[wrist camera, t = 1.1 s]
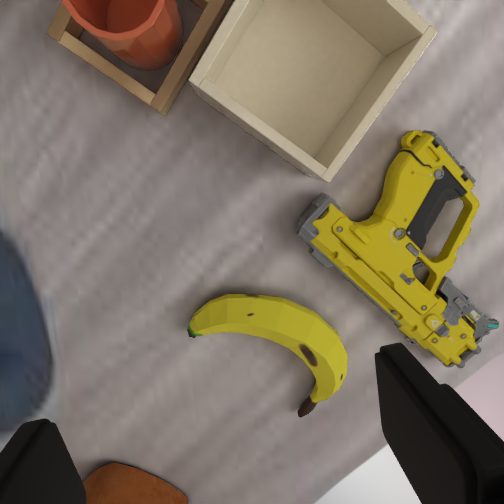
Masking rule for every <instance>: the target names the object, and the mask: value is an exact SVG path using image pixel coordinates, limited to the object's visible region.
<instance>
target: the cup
mask: <svg viewBox="0 0 504 504" xmlns="http://www.w3.org/2000/svg"><path fill="white" fill-rule="evenodd" d="M61 1H62V3H63V4H64V6H65V7H66V8H67V10H68V11H69V13H70V14H71V16H72V17H73V18H74V20H75V21H76V22H77V23H78V24H79V25H80V26H81V27H83V28H84V29H85V30H86V31H87V32H88V33H90V34H91V35H92V36H93V37H94V38H96V39H97V40H98V41H99V42H100V43H101V44H103V45H104V46H105V47H106V48H107V49H108V50H110V51H111V52H112V53H113V54H114V55H115V56H117V57H118V58H119V59H121V60H122V61H123V62H125V63H126V64H128V65H130V66H132V67H134V68H137V69H141V70H155V69H158V68H161V67H163V66H165V65H166V64H168V63H169V62H170V61H171V60H172V59H173V58H174V57H175V56H176V54H177V53H178V51H179V49H180V46H181V43H182V38H183V23H182V18H181V14H180V10H179V6H178V4H177V1H176V0H61Z"/></svg>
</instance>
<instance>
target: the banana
mask: <svg viewBox="0 0 504 504" xmlns="http://www.w3.org/2000/svg"><path fill="white" fill-rule="evenodd" d="M187 331H188V334H189V337H193V338H195V337H196V336H201V335H207V334H212V333H222V332H234V333H245V334H249V335H254V336H258V337H262V338H267V339H269V340H272V341H274V342H276V343H278V344H281V345H283V346H285V347H287V348H289V349H290V350H292V351H293V352H294V353H295V354H297V355H298V356H299V357H300V358H301V359H303V361H304V362H305V363H306V364H307V366H308V367H309V368H310V369H311V371H312V373H313V374H314V376H315V378H316V384H315V387H314V389H313V391H312V393H311V394H310V395H309V396H308V398H307V399H306V400H305V402H304V403H303V404H302V406H301V407H300V409H299V410H298V416H299V417H303V416H305V415H307V414H309V413H310V412H311V411H312V410H313V409H314V407H315V406H316V404H317V403H318V402H320V401H323V400H327V399H328V398H329V397H331V396H332V395H333V394H334V393H335V392H336V391H338V390H339V389H340V387H341V385H342V383H343V381H344V379H345V377H346V374H347V362H348V356H347V353H346V351H345V349H344V347H343V344H342V342H341V340H340V337H339V335H338V333H337V332H336V331H335V330H334V329H333V328H332V327H331V326H330V325H329V324H327V323H326V322H325V321H324V320H323V319H322V318H321V317H320V316H319V315H318V314H317V313H316V312H314V311H312V310H310V309H307V308H305V307H303V306H301V305H298V304H296V303H294V302H292V301H290V300H287V299H285V298H282V297H274V296H265V295H256V294H227V295H224V296H222V297H219V298H216V299H213V300H210V301H209V302H207V303H206V304H205V305H204V306H203V307H202V308H200V309H199V310H198V311H197V312H196V313H194V315H193V317H192V320H191V322H190V324H189V326H188V330H187Z"/></svg>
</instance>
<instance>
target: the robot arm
mask: <svg viewBox="0 0 504 504" xmlns="http://www.w3.org/2000/svg"><path fill="white" fill-rule="evenodd" d="M375 365H376V375H377V385H378V394H379V404H380V414H381V424H382V430H383V433H384V436H385V438H386V440H387V442H388V444H389V446H390V448H391V449H392V451H393V453H394V455H395V457H396V458H397V460H398V462H399V464H400V466H401V467H402V469H403V471H404V472H405V475H406V476H407V478H408V480H409V482H410V484H411V485H412V487H413V489H414V491H415V493H416V494H417V496H418V498H419V500H420V501H421V503H422V504H504V442H503V440H502V439H501V438H500V437H499V436H498V435H497V434H496V433H495V432H494V431H493V430H492V429H491V428H490V427H489V426H488V425H487V424H486V423H485V422H484V421H483V419H481V417H480V416H479V415H478V414H477V413H476V412H475V411H474V410H473V409H472V408H471V407H470V406H469V405H468V404H467V403H466V402H465V401H464V400H463V399H462V398H461V397H460V395H459V394H458V393H457V392H456V391H455V390H454V389H453V388H452V387H450V386H449V385H447V384H439V383H438V382H437V381H436V380H435V379H434V378H433V377H432V376H431V374H430V373H429V372H428V371H427V370H426V369H425V368H424V367H423V366H422V365H421V364H420V362H419V361H418V360H417V359H416V358H415V357H414V356H413V355H412V354H411V353H410V352H409V350H408V349H407V348H406V347H405V346H404V345H403V344H402V343H395V344H390V345H386V346H381V347H380V352H378V353H375ZM86 500H87V495H86V490H85V488H84V485H83V483H82V481H81V479H80V477H79V474H78V472H77V470H76V468H75V465H74V463H73V461H72V459H71V457H70V454H69V452H68V450H67V448H66V445H65V443H64V441H63V439H62V437H61V434H60V432H59V430H58V428H57V426H56V424H55V423H52V422H50V421H49V420H48V419H40V420H35V421H30V422H26V423H24V424H22V425H21V426H20V427H19V428H18V430H17V431H16V432H15V434H14V435H13V437H12V438H11V439H10V441H9V442H8V443H7V445H6V446H5V447H4V449H3V450H2V451H1V453H0V504H86Z"/></svg>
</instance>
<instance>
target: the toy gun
mask: <svg viewBox="0 0 504 504" xmlns="http://www.w3.org/2000/svg"><path fill="white" fill-rule="evenodd" d="M401 145H402V147H403V148H402V149H401V150H400V153H398V155H397V156H396V157H395V159H394V160H393V162H392V163H391V165H390V166H389V168H388V170H387V174H386V177H385V182H384V187H383V192H382V197H381V199H380V201H379V202H378V204H377V206H376V208H375V210H374V212H373V215H372V216H371V217H370V218H369V219H367V220H364V221H361V222H354V221H351V220H350V219H349V218H348V217H347V216H346V215H345V214H344V213H342V212H341V210H342V207H341V206H340V205H339V204H338V203H337V202H336V201H335V200H334V199H333V198H331V197H330V196H328V195H326V194H324V193H321V194H320V195H319V196H318V197H317V198H316V199H315V200H314V201H313V203H312V206H311V207H310V208H309V209H308V210H307V211H306V212H305V214H304V215H303V216H302V217H301V218H300V219H299V220H298V222H297V228H296V229H297V230H296V235H297V236H300V237H301V238H302V239H303V240H304V241H305V242H306V243H307V244H308V245H310V246H311V249H310V250H309V253H310V255H312V256H313V257H314V258H315V259H316V260H318V261H319V262H320V263H321V264H322V265H323V266H325V267H330V266H333V267H334V268H335V269H336V270H337V271H339V272H340V273H341V274H342V275H343V276H344V277H345V278H346V279H348V281H350V282H351V283H352V284H353V285H354V286H355V287H356V288H357V289H358V290H360V291H361V292H362V293H363V294H365V296H366V297H367V298H368V299H369V300H371V301H372V302H373V303H374V304H375V305H376V306H377V307H378V308H379V309H381V311H382V312H383V313H385V314H386V315H387V316H388V317H389V318H390V319H391V320H392V321H393V322H395V325H396V326H397V327H398V328H399V329H400V330H401V331H402V332H403V333H405V334H406V337H405V339H406V340H407V341H408V339H410V340H411V341H412V342H409V341H408V342H409V343H410V344H411V345H418V346H422V347H423V348H424V349H426V350H428V351H429V352H430V353H431V354H432V355H434V356H435V357H436V358H437V359H438V360H439V361H440V362H442V363H443V364H444V365H445V366H446V367H452V366H453V365H454V364H455V365H456V366H457V367H459V368H463V367H464V366H465V363H466V362H467V361H468V360H469V359H470V358H471V357H473V356H474V355H475V354H479V353H480V352H481V348H480V347H479V346H478V345H477V344H478V343H479V342H480V341H481V340H482V337H483V336H485V335H488V334H489V333H490V332H489V331H490V330H493V329H497V328H499V321H497V320H495V319H487V318H486V317H485V316H483V315H482V313H481V312H480V311H479V310H478V309H477V308H476V307H475V306H474V305H473V304H472V303H471V301H472V300H471V299H470V298H468V297H466V296H465V295H463V294H462V293H461V292H460V291H459V290H458V289H457V288H456V287H455V286H454V285H453V284H452V281H451V280H450V279H449V278H447V277H445V276H444V275H445V273H446V272H447V271H449V270H450V269H451V268H452V266H453V264H454V262H455V260H456V256H455V254H456V252H457V250H458V248H459V246H460V245H461V244H463V243H464V242H465V240H466V238H467V236H468V234H469V233H470V231H471V227H470V225H471V222H472V220H473V218H474V216H475V214H476V212H477V210H478V208H479V200H478V199H477V198H476V197H475V196H474V194H473V193H472V192H471V191H470V190H471V189H472V188H473V187H474V186H475V185H474V182H475V181H476V180H475V179H474V178H473V177H472V176H471V175H470V174H469V172H468V171H467V169H466V168H465V167H464V166H462V165H460V164H459V162H458V161H457V160H456V159H455V157H454V156H452V154H451V153H450V152H449V151H448V149H447V146H445V144H444V142H443V141H442V140H441V139H440V138H439V137H438V136H437V134H436V133H434V132H432V131H426V130H424V131H423V132H421V131H409V132H407V133H406V134H405V135H404V136H403V137H402V140H401ZM458 197H459V198H460V199H461V200H462V201H463V204H464V207H463V209H462V211H461V213H460V215H459V217H458V219H457V221H456V223H455V225H454V227H453V229H452V231H451V233H450V235H449V237H448V239H447V241H446V243H445V245H444V247H443V249H442V251H441V253H440V254H439V255H438V256H436V257H434V258H432V259H428V258H427V257H426V256H425V255H424V254H423V253H422V252H421V250H422V249H423V247H424V244H425V242H426V236H427V234H428V232H429V230H430V229H431V227H432V225H433V224H434V222H435V220H436V218H437V217H438V215H439V213H440V212H441V210H442V208H443V206H444V205H445V203H446V201H449V200H452V199H455V198H458ZM332 232H333V233H334V234H335V235H336V236H337V237H338V238H339V239H340V240H341V241H342V242H343V243H344V244H345V245H346V246H347V247H348V248H347V247H346V246H345V245H344V244H343V243H342V242H341V241H340V240H339V239H338V238H337V237H336V236H335V235H334V234H333V233H332ZM358 257H359V258H360V259H359V258H358ZM417 258H418V259H419V260H420V261H421V262H422V263H423V264H424V265H425V266H426V267H427V268H428V269H429V272H430V274H429V276H428V278H427V280H426V282H425V285H422V284H421V283H420V282H419V280H418V279H417V278H416V277H415V275H414V274H413V273H414V272H415V271H416V270H417V269H418V268H420V267H422V266H424V265H423V264H422V263H421V262H418V263H416V264H414V263H415V261H416V260H417ZM375 273H376V274H375ZM437 290H438V292H437V294H435V293H436V291H437ZM461 315H462V316H465V317H466V318H467V319H468V320H469V321H470V322H471V323H472V326H471V327H470V326H469V325H468V324H467V323H466V322H465V321H464V320H463V319H462V318H461V317H462V316H461Z"/></svg>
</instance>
